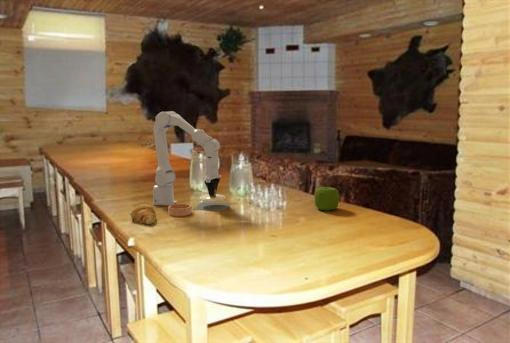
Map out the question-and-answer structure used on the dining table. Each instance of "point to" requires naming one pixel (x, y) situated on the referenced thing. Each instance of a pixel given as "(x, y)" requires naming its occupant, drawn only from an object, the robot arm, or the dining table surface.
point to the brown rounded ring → (179, 209)
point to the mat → (212, 206)
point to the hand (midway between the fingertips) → (212, 194)
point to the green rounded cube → (326, 198)
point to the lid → (212, 197)
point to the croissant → (143, 214)
